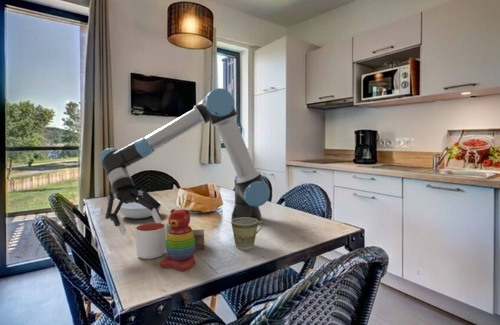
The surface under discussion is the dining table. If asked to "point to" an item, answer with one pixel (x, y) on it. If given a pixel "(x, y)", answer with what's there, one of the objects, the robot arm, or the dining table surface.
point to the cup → (150, 240)
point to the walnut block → (199, 240)
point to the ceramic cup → (245, 232)
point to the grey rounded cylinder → (167, 228)
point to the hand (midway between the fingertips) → (142, 228)
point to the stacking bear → (179, 242)
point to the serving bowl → (135, 210)
